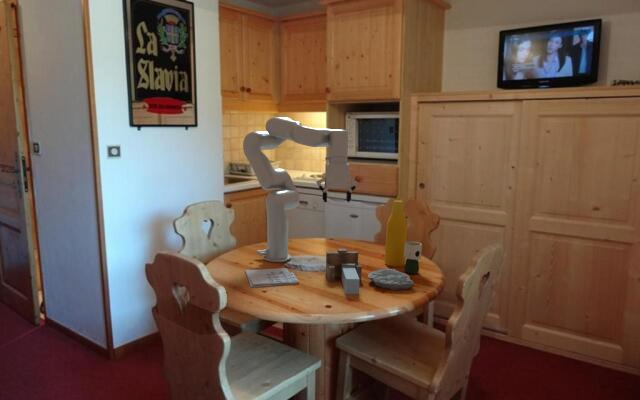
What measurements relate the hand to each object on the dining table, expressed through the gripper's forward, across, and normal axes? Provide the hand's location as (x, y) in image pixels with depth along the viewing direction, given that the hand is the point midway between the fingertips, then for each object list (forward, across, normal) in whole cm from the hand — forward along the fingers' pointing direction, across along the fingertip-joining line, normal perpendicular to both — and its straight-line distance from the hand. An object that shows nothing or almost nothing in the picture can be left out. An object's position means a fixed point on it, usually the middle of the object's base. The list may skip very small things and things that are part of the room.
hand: (336, 201), depth 195 cm
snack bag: (+31, -27, -4) cm, 41 cm away
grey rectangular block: (+31, +2, -18) cm, 36 cm away
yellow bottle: (+31, +30, +9) cm, 44 cm away
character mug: (+31, +33, -4) cm, 45 cm away
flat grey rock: (+31, +19, -16) cm, 40 cm away
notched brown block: (+30, +2, -8) cm, 31 cm away
